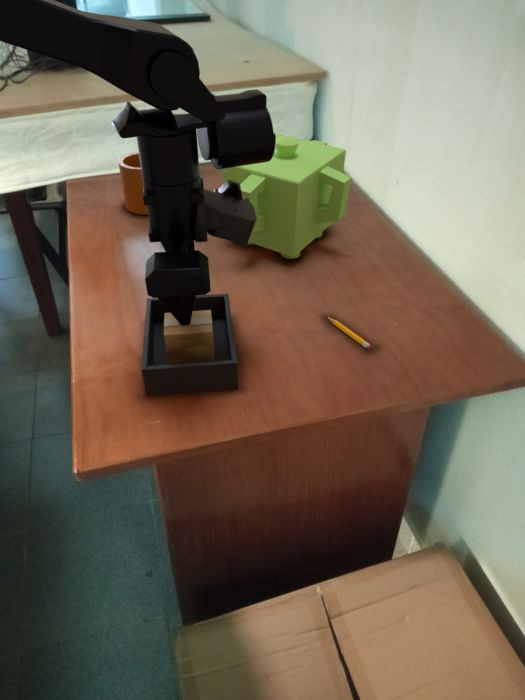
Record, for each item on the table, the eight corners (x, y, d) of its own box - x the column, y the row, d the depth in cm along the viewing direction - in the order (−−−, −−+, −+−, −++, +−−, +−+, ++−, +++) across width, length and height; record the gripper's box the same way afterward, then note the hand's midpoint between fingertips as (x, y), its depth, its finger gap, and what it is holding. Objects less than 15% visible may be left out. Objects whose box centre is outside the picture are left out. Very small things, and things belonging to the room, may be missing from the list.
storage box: (266, 196, 102) (267, 107, 91) (367, 225, 93) (383, 131, 82) (190, 248, 86) (180, 148, 75) (303, 289, 78) (312, 184, 66)
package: (168, 364, 64) (163, 334, 60) (168, 341, 67) (164, 312, 64) (214, 361, 64) (212, 331, 61) (212, 338, 68) (210, 309, 64)
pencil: (367, 351, 67) (368, 347, 67) (324, 319, 72) (325, 316, 72) (371, 348, 68) (372, 345, 67) (328, 317, 73) (329, 313, 72)
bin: (146, 396, 60) (141, 370, 57) (151, 323, 71) (146, 298, 68) (238, 389, 61) (237, 362, 58) (229, 318, 72) (228, 293, 69)
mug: (186, 214, 96) (182, 168, 90) (123, 216, 95) (115, 170, 89) (187, 194, 102) (183, 150, 96) (128, 196, 101) (120, 151, 95)
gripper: (262, 214, 44) (260, 346, 54) (242, 139, 57) (243, 256, 68) (133, 220, 42) (157, 354, 53) (144, 142, 56) (161, 261, 67)
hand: (185, 300), depth 60 cm, fingers open, 9 cm apart
